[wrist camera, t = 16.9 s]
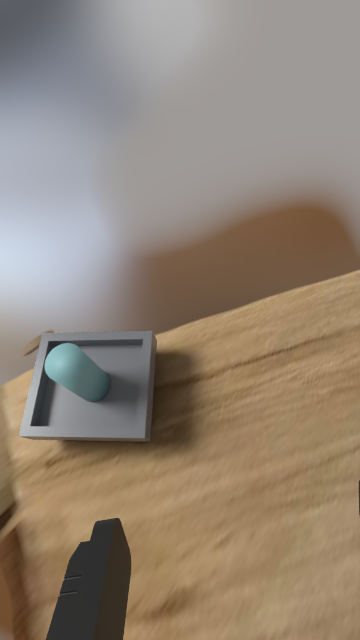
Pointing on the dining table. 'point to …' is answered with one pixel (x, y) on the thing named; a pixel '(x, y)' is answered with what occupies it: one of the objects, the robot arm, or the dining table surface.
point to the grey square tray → (106, 414)
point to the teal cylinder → (77, 372)
